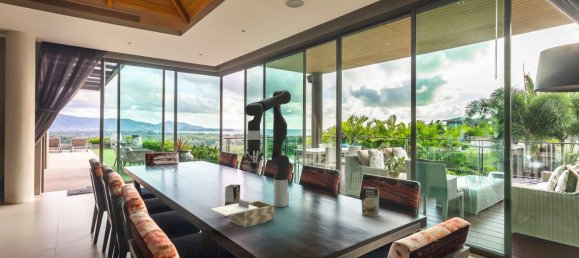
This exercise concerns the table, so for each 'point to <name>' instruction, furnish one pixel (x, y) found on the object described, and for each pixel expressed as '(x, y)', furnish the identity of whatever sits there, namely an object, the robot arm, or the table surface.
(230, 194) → the coffee box
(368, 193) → the coffee box
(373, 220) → the table surface
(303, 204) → the table surface
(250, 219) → the wooden box
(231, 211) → the lid
